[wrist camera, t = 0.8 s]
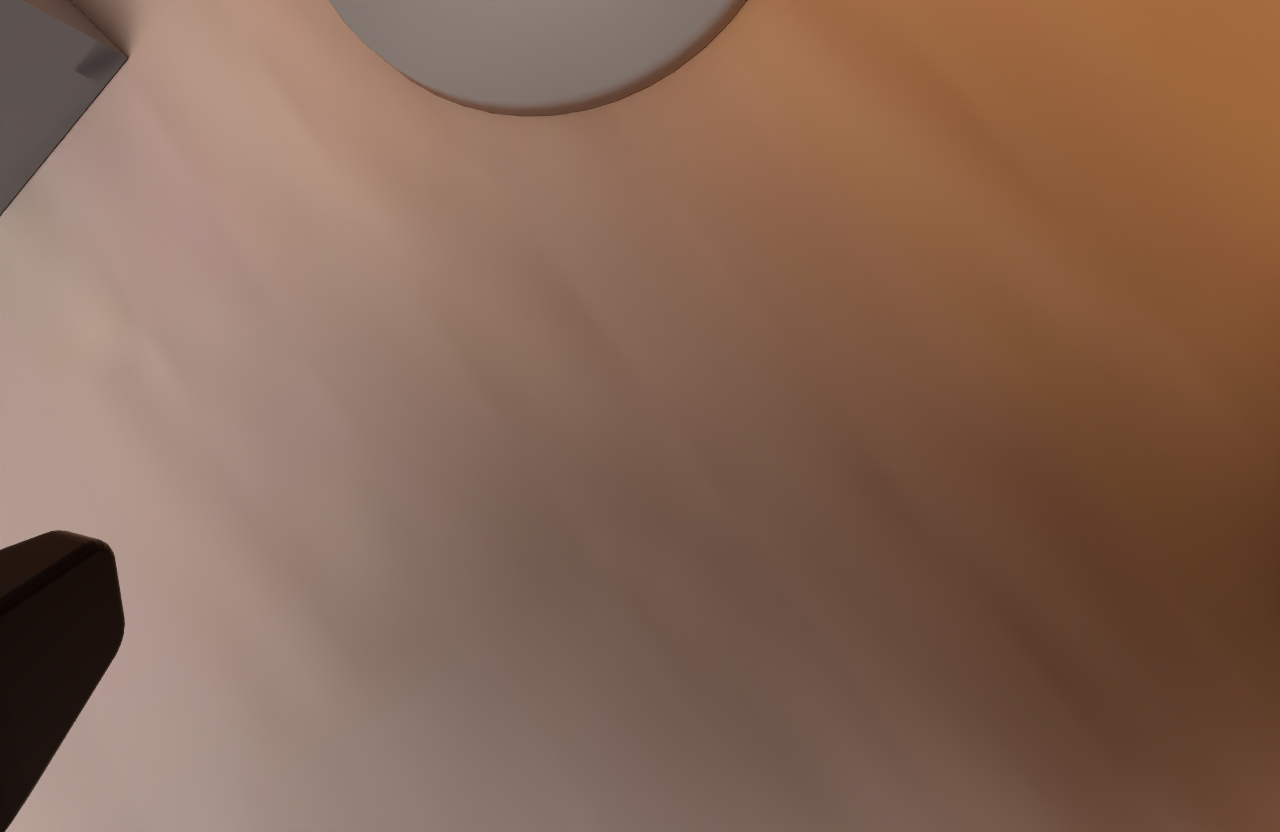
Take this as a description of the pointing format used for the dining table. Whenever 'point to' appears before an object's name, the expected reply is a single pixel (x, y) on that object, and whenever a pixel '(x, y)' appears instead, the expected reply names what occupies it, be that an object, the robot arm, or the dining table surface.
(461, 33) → the pad
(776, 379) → the dining table surface
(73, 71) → the dish
